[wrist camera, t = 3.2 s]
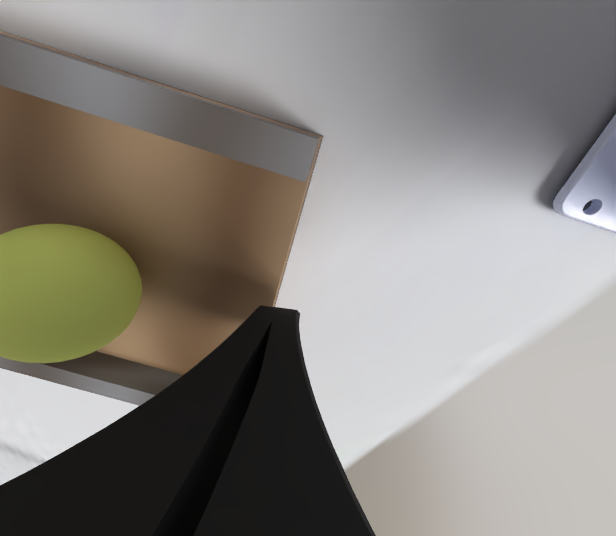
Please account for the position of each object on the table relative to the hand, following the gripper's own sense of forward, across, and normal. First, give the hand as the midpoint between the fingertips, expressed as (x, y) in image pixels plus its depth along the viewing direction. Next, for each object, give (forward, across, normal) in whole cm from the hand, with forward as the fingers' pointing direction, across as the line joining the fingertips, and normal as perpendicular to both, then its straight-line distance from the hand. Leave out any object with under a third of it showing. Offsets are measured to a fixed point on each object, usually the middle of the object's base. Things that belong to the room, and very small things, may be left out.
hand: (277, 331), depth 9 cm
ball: (-1, +6, -1) cm, 7 cm away
